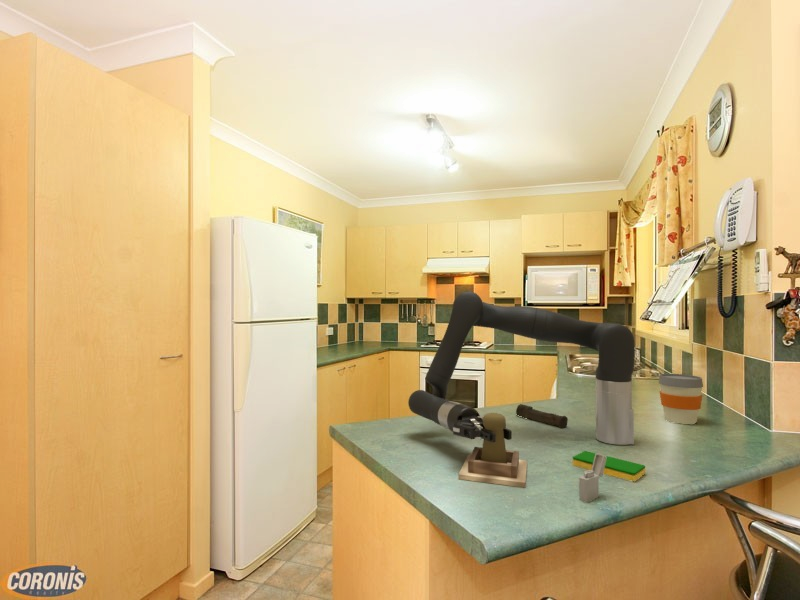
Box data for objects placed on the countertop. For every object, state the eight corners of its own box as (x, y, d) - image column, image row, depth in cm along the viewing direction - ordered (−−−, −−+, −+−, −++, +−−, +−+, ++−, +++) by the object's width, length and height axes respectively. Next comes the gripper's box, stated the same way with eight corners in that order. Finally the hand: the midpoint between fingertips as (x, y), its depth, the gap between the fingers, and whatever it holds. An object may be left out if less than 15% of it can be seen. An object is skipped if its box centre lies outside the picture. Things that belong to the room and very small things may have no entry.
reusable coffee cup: (712, 426, 138) (712, 379, 138) (673, 426, 138) (673, 379, 138) (687, 416, 150) (686, 373, 150) (651, 416, 150) (650, 373, 151)
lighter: (586, 502, 83) (586, 460, 83) (578, 499, 84) (578, 458, 84) (607, 493, 87) (607, 453, 87) (599, 490, 88) (599, 451, 88)
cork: (478, 464, 97) (478, 415, 97) (483, 455, 102) (483, 409, 102) (505, 468, 94) (505, 418, 94) (509, 459, 100) (509, 412, 100)
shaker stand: (527, 464, 103) (527, 449, 103) (525, 487, 89) (525, 470, 89) (468, 458, 107) (468, 443, 107) (458, 479, 94) (458, 462, 94)
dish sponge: (634, 484, 92) (634, 473, 92) (572, 466, 103) (571, 456, 103) (645, 475, 97) (645, 465, 97) (585, 460, 107) (584, 450, 107)
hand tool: (568, 428, 136) (568, 413, 136) (560, 429, 134) (560, 414, 134) (521, 415, 152) (521, 402, 152) (514, 417, 150) (514, 403, 150)
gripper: (435, 406, 108) (476, 423, 93) (480, 401, 114) (526, 416, 99) (434, 436, 108) (476, 458, 93) (480, 429, 114) (526, 448, 99)
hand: (502, 436), depth 96 cm, fingers closed on cork, 4 cm apart
